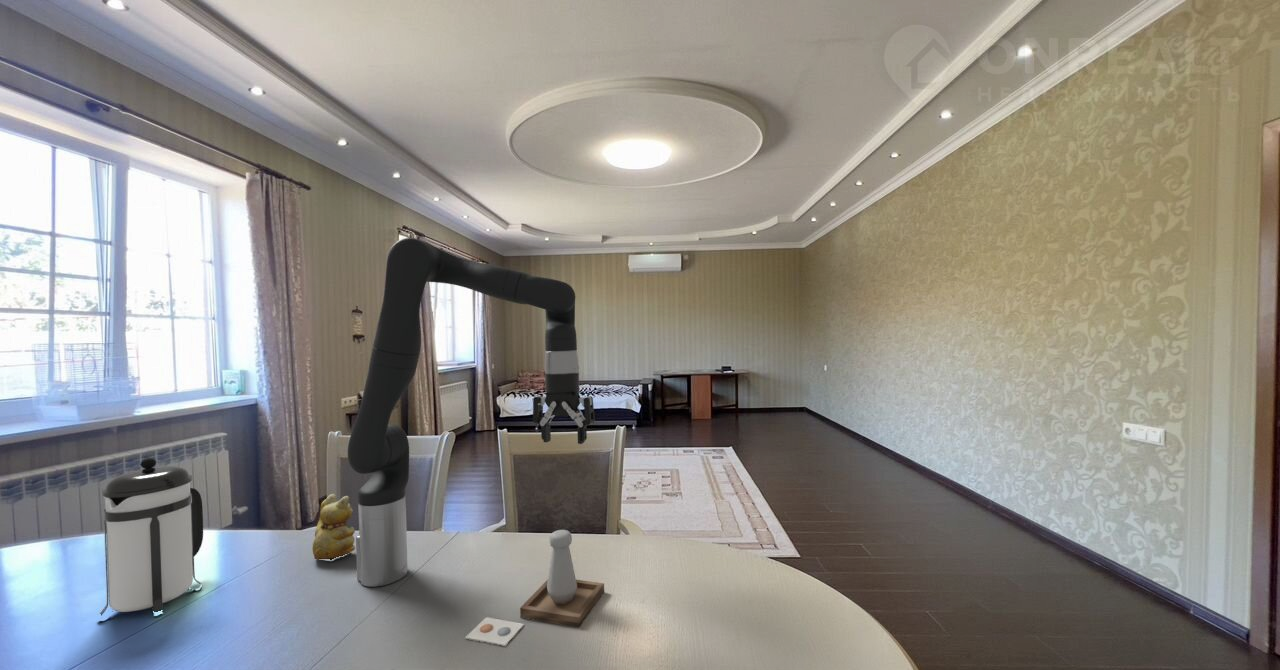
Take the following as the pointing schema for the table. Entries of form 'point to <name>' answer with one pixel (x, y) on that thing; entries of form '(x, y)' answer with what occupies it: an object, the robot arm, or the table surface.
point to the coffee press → (150, 536)
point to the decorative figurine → (333, 529)
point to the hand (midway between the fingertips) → (564, 442)
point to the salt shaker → (561, 569)
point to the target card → (494, 631)
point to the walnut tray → (568, 613)
